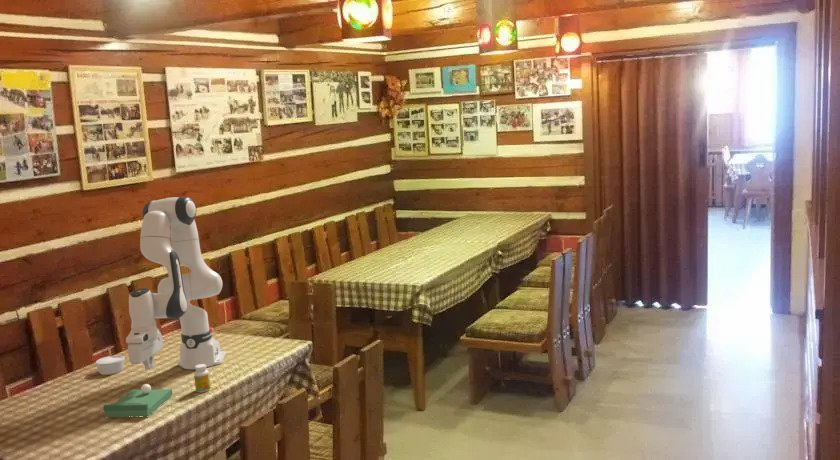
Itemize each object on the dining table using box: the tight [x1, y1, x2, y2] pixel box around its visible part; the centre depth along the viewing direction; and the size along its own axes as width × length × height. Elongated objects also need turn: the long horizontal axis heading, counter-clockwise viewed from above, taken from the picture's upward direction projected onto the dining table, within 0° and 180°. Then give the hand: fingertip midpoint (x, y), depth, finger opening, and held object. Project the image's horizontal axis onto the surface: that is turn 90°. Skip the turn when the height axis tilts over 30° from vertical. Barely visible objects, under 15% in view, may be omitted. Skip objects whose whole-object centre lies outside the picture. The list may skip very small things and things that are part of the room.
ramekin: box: [95, 355, 126, 376], centre depth 319 cm, size 11×11×5 cm
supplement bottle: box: [193, 364, 211, 393], centre depth 289 cm, size 5×5×10 cm
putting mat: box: [103, 388, 174, 419], centre depth 277 cm, size 20×16×4 cm
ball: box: [140, 383, 152, 394], centre depth 283 cm, size 4×4×4 cm
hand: (149, 368), depth 286 cm, fingers closed
